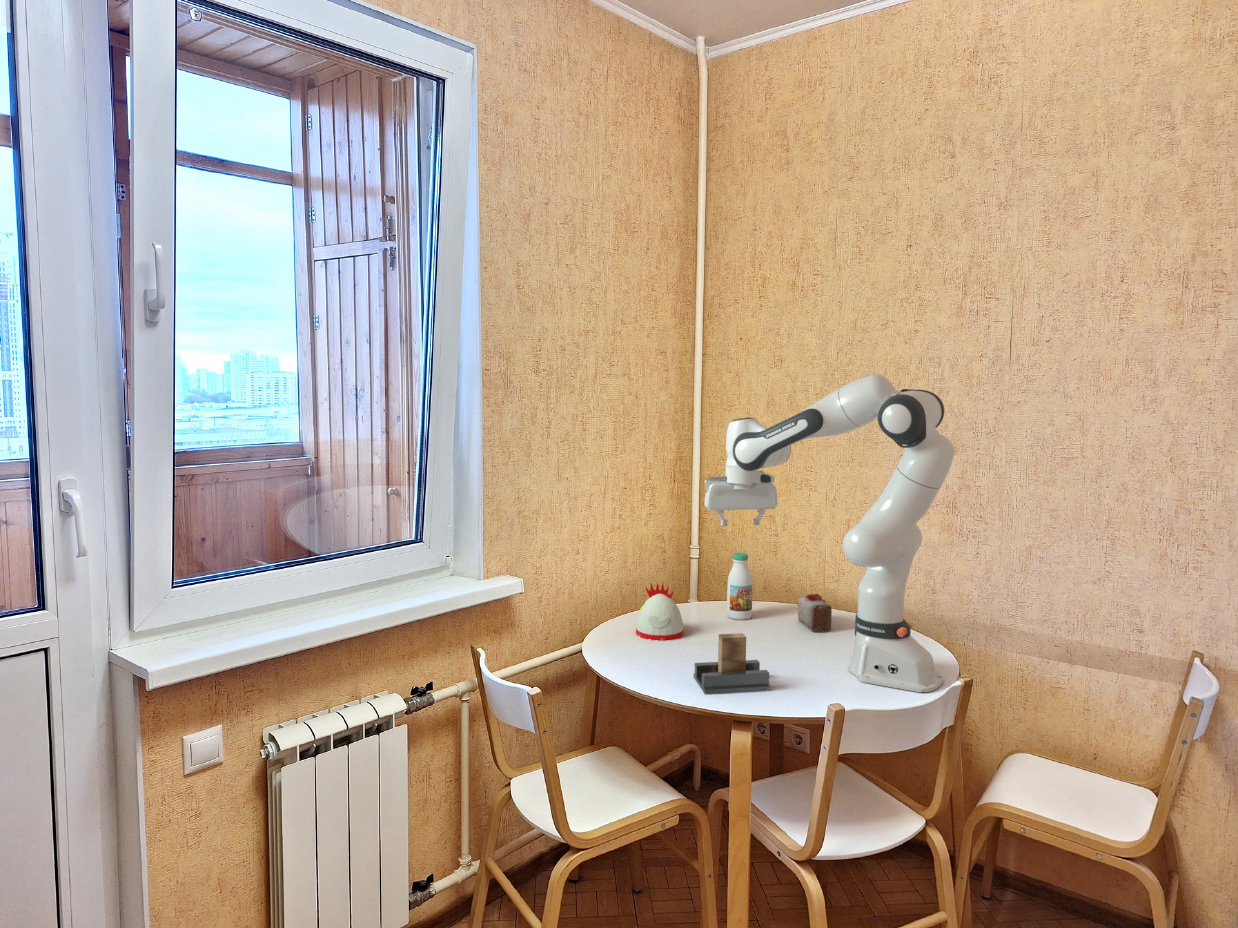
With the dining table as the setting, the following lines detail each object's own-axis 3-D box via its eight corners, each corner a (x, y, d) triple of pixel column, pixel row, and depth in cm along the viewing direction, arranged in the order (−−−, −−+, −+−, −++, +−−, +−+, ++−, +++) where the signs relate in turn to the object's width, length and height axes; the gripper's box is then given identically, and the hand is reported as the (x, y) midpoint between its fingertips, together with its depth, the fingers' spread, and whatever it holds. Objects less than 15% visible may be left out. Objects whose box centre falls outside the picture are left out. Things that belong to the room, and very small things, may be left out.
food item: (793, 619, 248) (794, 588, 247) (818, 618, 249) (819, 587, 248) (809, 633, 235) (810, 600, 234) (836, 632, 236) (837, 599, 235)
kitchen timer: (637, 625, 242) (638, 576, 240) (683, 626, 241) (684, 577, 239) (634, 640, 228) (634, 588, 227) (683, 641, 227) (683, 589, 225)
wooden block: (741, 676, 197) (742, 633, 196) (745, 681, 194) (746, 636, 193) (717, 677, 196) (718, 634, 195) (721, 682, 193) (722, 638, 192)
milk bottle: (721, 616, 251) (722, 553, 249) (736, 611, 256) (738, 550, 254) (741, 622, 245) (743, 557, 243) (756, 616, 251) (758, 553, 249)
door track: (755, 673, 202) (755, 658, 202) (770, 690, 191) (770, 674, 191) (693, 677, 200) (693, 661, 199) (704, 694, 189) (705, 677, 188)
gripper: (707, 478, 218) (707, 528, 220) (780, 476, 221) (778, 526, 223) (702, 475, 224) (701, 524, 226) (772, 474, 228) (771, 522, 229)
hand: (740, 525), depth 224 cm, fingers open, 8 cm apart
